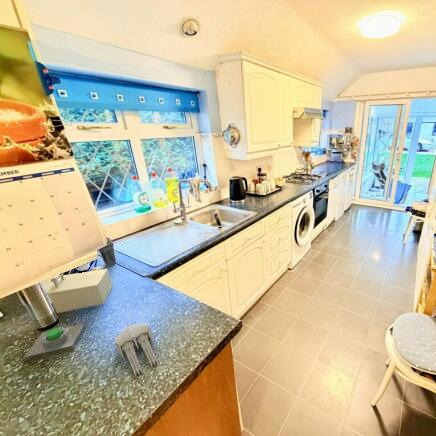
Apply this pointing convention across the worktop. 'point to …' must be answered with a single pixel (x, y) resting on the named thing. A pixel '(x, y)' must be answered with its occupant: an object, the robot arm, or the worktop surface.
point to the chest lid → (76, 281)
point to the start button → (53, 333)
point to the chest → (82, 296)
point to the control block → (56, 343)
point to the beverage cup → (108, 253)
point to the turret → (135, 345)
